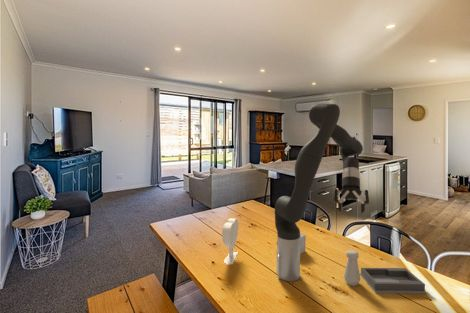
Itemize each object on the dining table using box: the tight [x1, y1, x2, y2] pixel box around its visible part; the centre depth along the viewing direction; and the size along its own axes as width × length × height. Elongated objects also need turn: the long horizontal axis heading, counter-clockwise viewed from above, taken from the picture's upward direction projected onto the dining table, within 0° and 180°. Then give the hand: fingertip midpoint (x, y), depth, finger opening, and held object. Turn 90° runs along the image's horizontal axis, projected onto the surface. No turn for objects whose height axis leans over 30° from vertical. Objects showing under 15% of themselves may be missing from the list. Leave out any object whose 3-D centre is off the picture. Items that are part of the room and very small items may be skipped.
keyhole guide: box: [359, 267, 426, 295], centre depth 96 cm, size 18×12×3 cm, turn 87°
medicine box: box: [300, 233, 307, 255], centre depth 122 cm, size 8×4×9 cm, turn 135°
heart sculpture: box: [221, 217, 239, 265], centre depth 118 cm, size 16×5×18 cm, turn 165°
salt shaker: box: [343, 249, 361, 287], centre depth 96 cm, size 6×6×13 cm
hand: (351, 212), depth 108 cm, fingers open, 8 cm apart
